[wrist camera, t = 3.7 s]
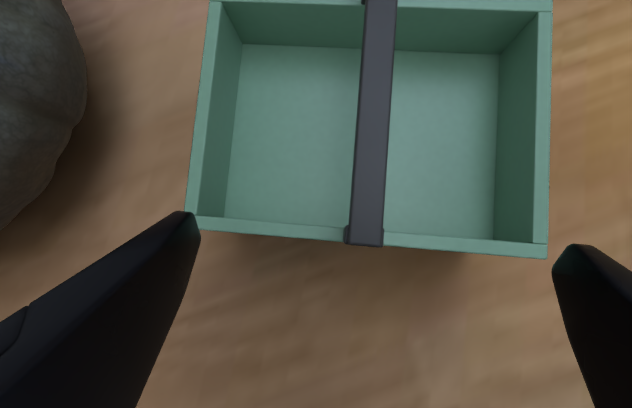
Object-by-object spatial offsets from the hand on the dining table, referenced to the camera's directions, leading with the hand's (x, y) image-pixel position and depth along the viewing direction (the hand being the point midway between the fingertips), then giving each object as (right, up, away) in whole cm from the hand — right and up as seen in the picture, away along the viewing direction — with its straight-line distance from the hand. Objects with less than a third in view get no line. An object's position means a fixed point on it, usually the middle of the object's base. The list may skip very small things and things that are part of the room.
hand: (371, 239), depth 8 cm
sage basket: (+1, +4, +10) cm, 11 cm away
